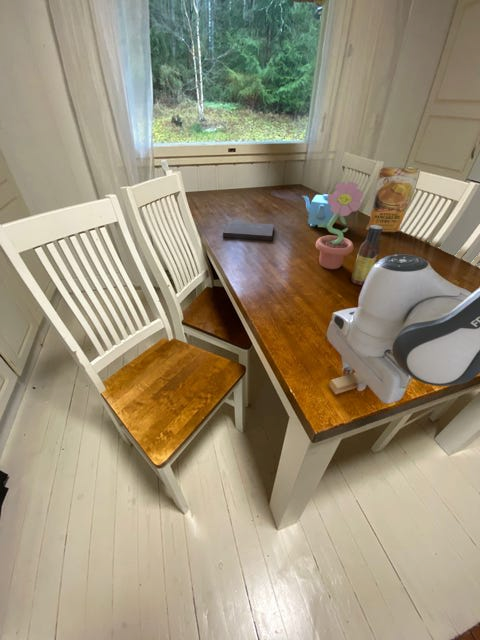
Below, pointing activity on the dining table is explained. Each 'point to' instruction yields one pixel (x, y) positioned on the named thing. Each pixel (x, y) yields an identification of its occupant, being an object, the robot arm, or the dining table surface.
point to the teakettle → (318, 210)
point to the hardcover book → (249, 230)
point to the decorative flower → (337, 246)
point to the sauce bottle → (367, 255)
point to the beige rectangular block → (344, 383)
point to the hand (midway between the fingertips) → (352, 380)
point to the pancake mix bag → (393, 197)
